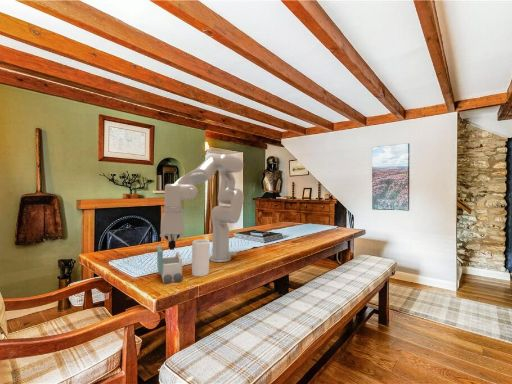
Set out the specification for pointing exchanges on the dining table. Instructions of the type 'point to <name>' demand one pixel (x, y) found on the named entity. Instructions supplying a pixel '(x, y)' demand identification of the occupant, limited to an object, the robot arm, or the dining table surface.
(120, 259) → the dining table surface
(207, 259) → the cup
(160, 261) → the tailgate
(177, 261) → the cart
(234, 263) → the dining table surface
